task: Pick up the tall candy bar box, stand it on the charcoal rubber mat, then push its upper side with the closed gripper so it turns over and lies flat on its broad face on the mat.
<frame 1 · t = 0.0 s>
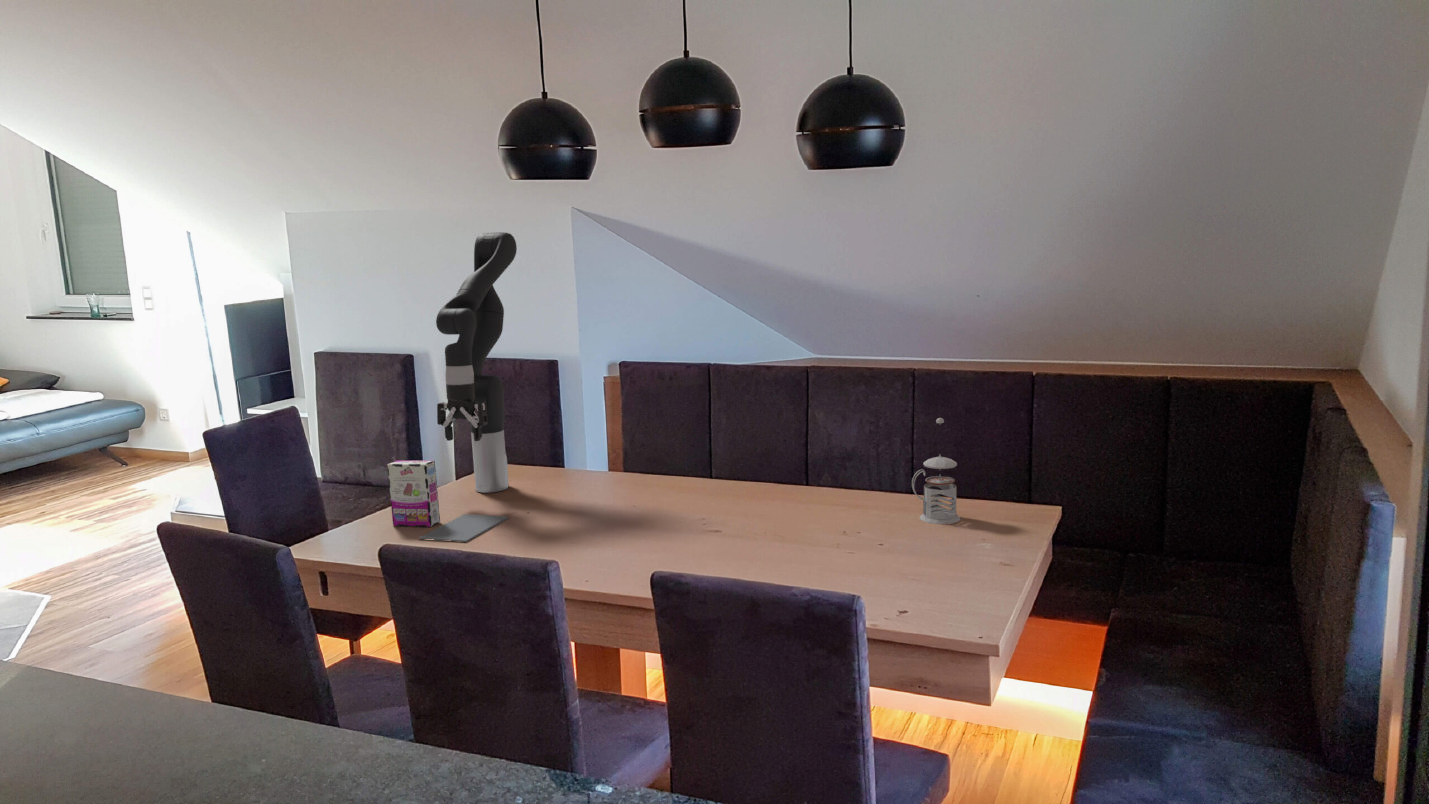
hand: (463, 440, 277), 17 cm above the table, tool pointing down, fingers open, 8 cm apart
mat: (465, 528, 253), on the table
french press: (936, 519, 247), on the table
candy bar box: (416, 525, 259), on the table
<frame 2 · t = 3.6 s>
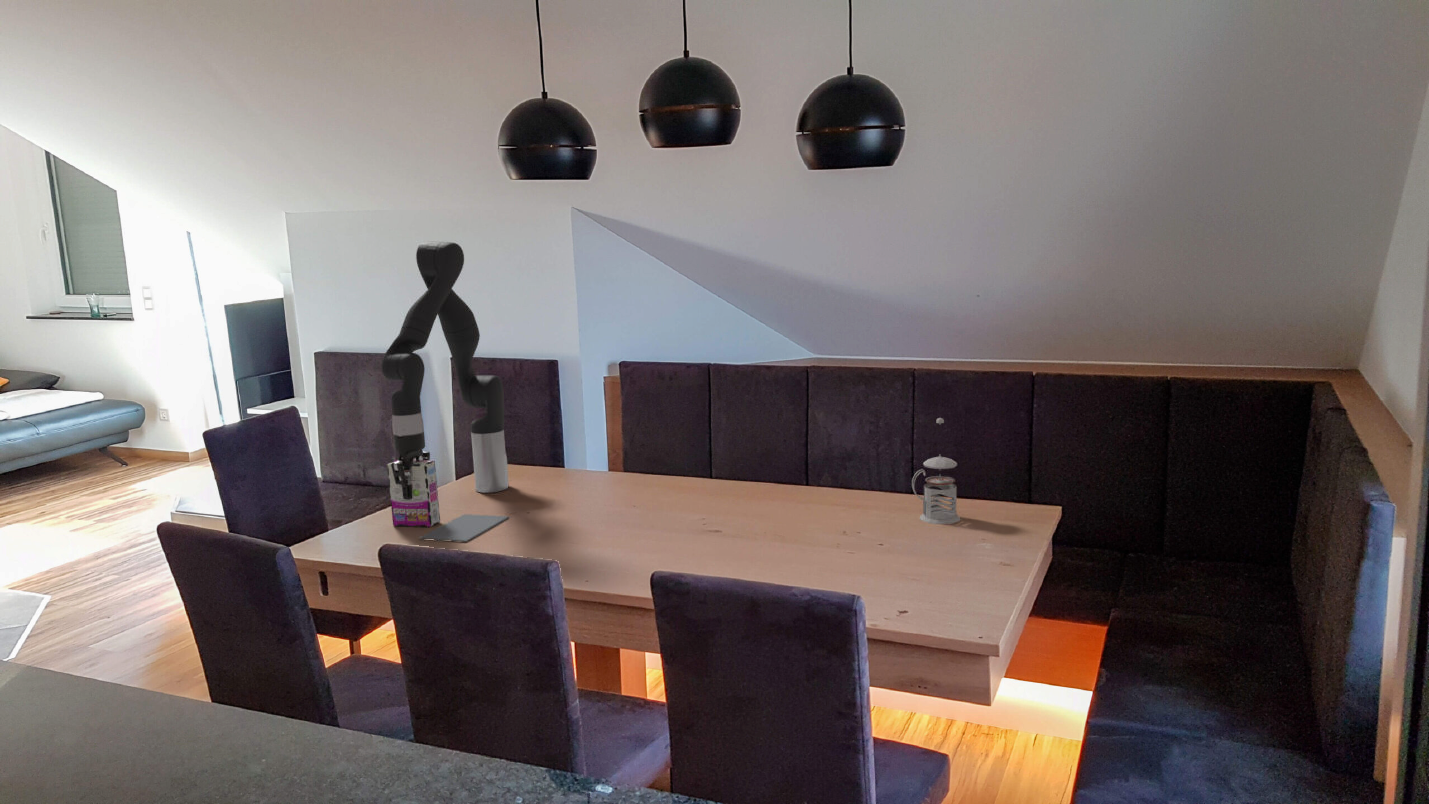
hand: (414, 496, 257), 7 cm above the table, tool pointing down, fingers closed on candy bar box, 5 cm apart
candy bar box: (416, 524, 259), on the table, touching gripper
everything else where it was.
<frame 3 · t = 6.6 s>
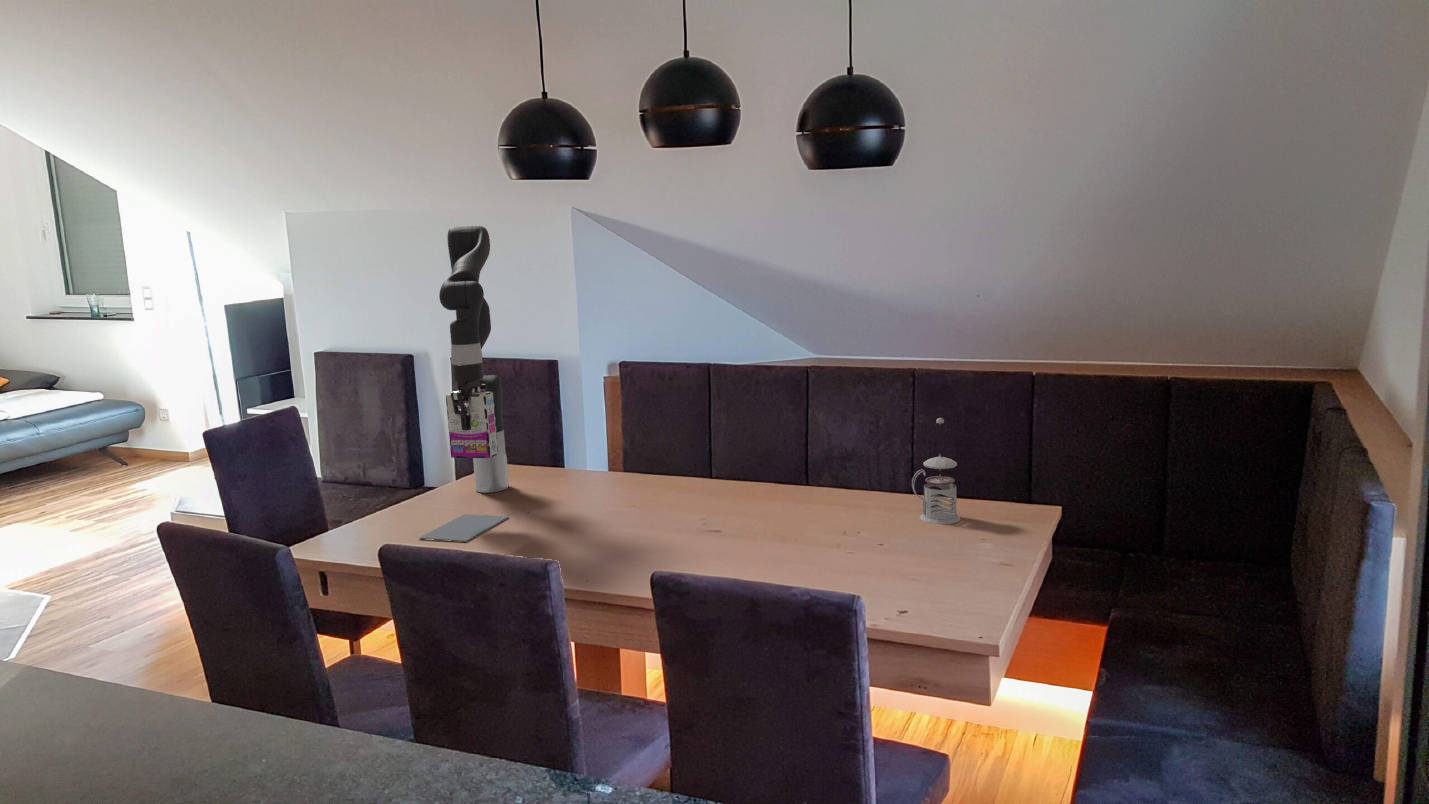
hand: (472, 427, 256), 24 cm above the table, tool pointing down, fingers closed on candy bar box, 5 cm apart
candy bar box: (474, 457, 257), point 17 cm above the table, touching gripper
everything else where it was.
when the fingers open (9 cm above the table, at t = 9.7 s): candy bar box drops 1 cm, resting on mat.
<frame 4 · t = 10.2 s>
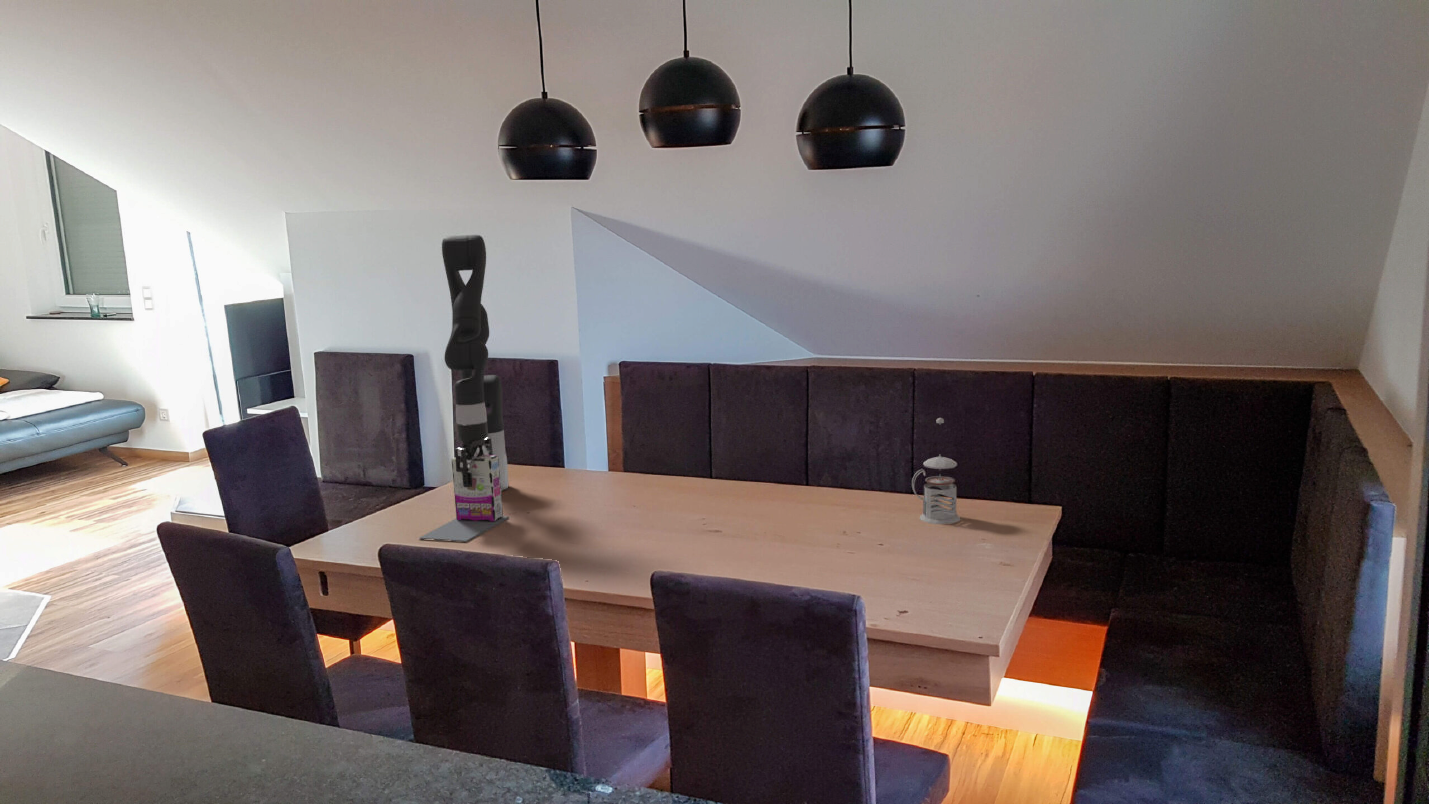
hand: (476, 482, 258), 10 cm above the table, tool pointing down, fingers open, 8 cm apart
candy bar box: (480, 519, 260), resting on mat
everything else where it was.
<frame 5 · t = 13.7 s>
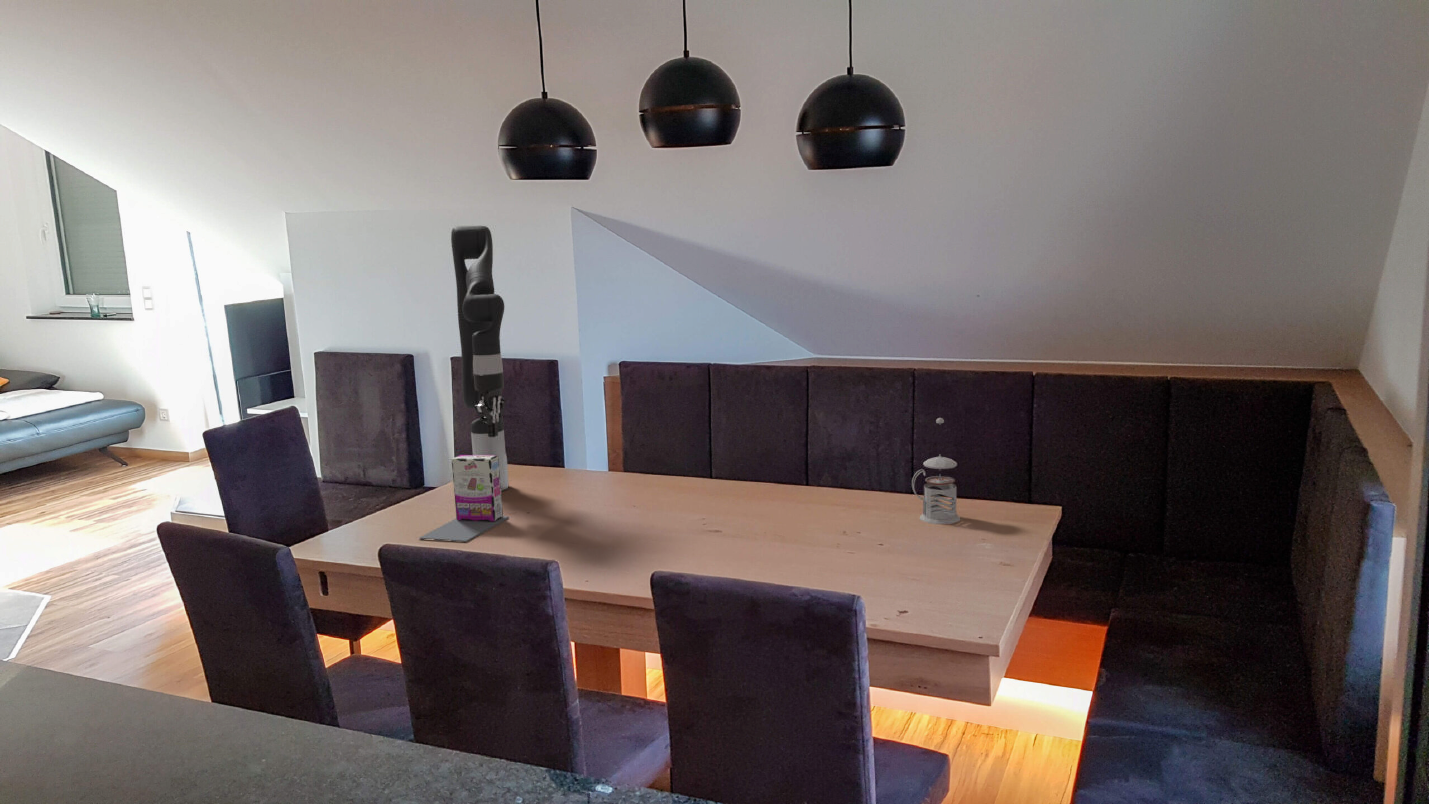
hand: (493, 436, 266), 20 cm above the table, tool pointing down, fingers closed
nothing on the table moved.
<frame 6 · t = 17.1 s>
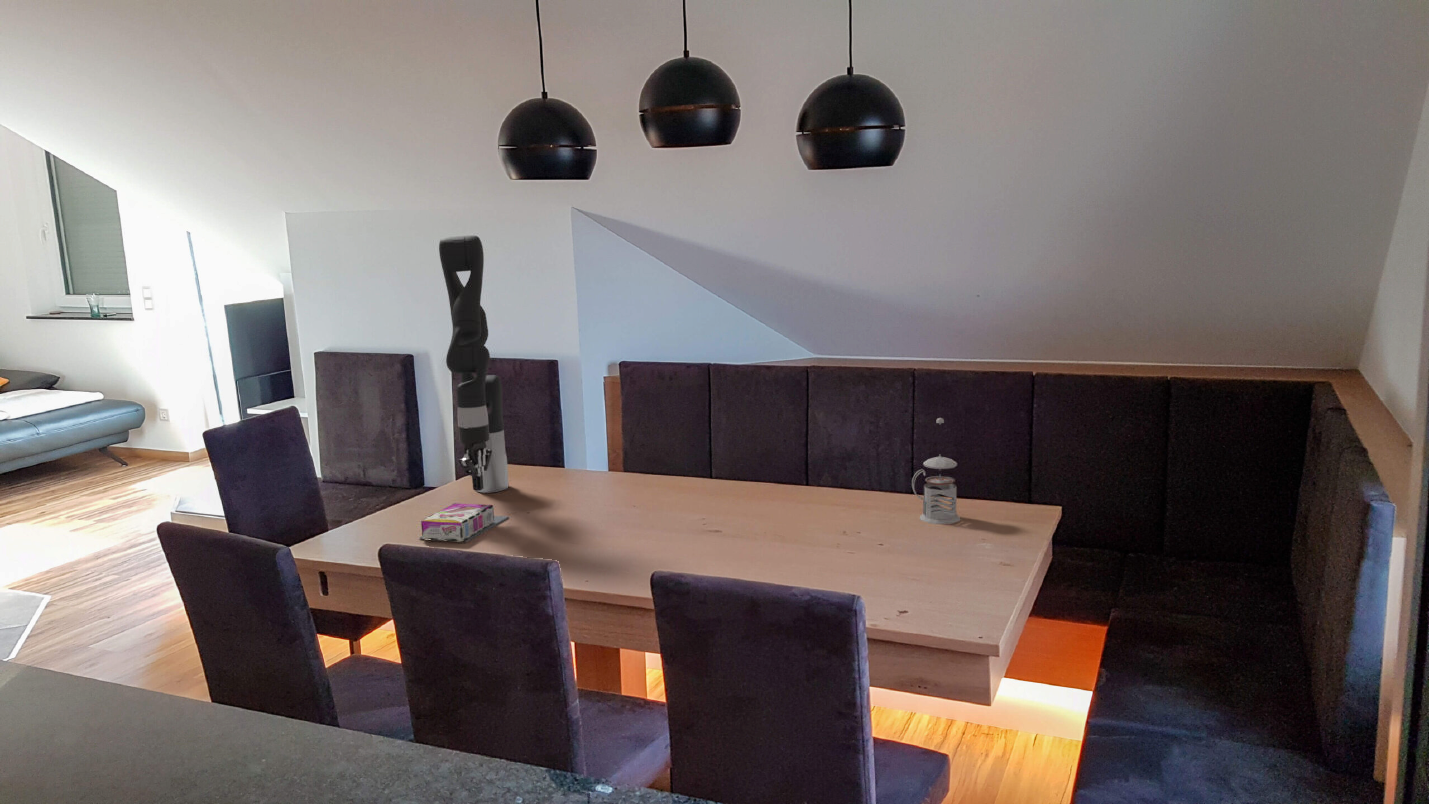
hand: (478, 489, 258), 8 cm above the table, tool pointing down, fingers closed
candy bar box: (474, 511, 257), point 3 cm above the table, touching mat
everything else where it was.
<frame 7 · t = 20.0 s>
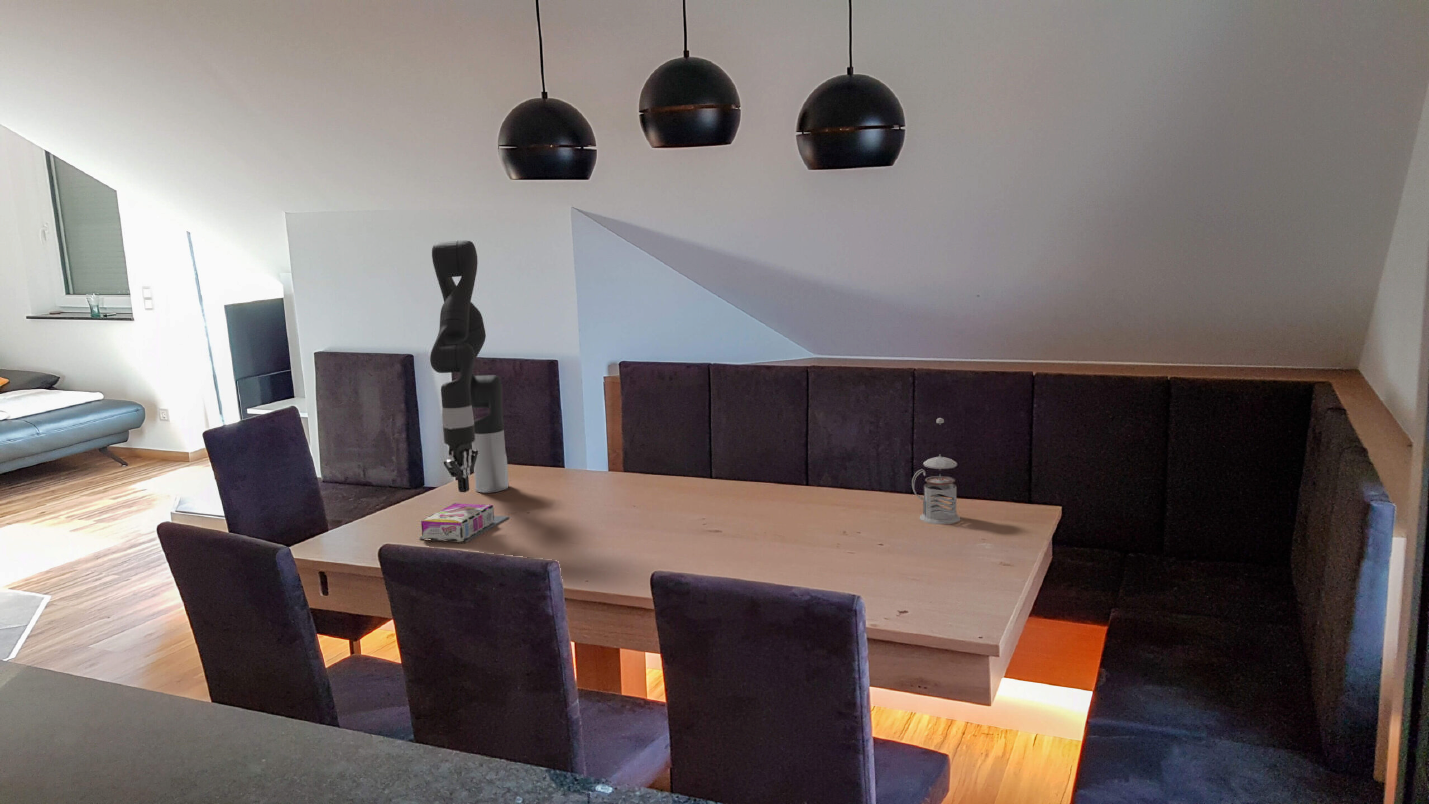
hand: (464, 491, 253), 9 cm above the table, tool pointing down, fingers closed
nothing on the table moved.
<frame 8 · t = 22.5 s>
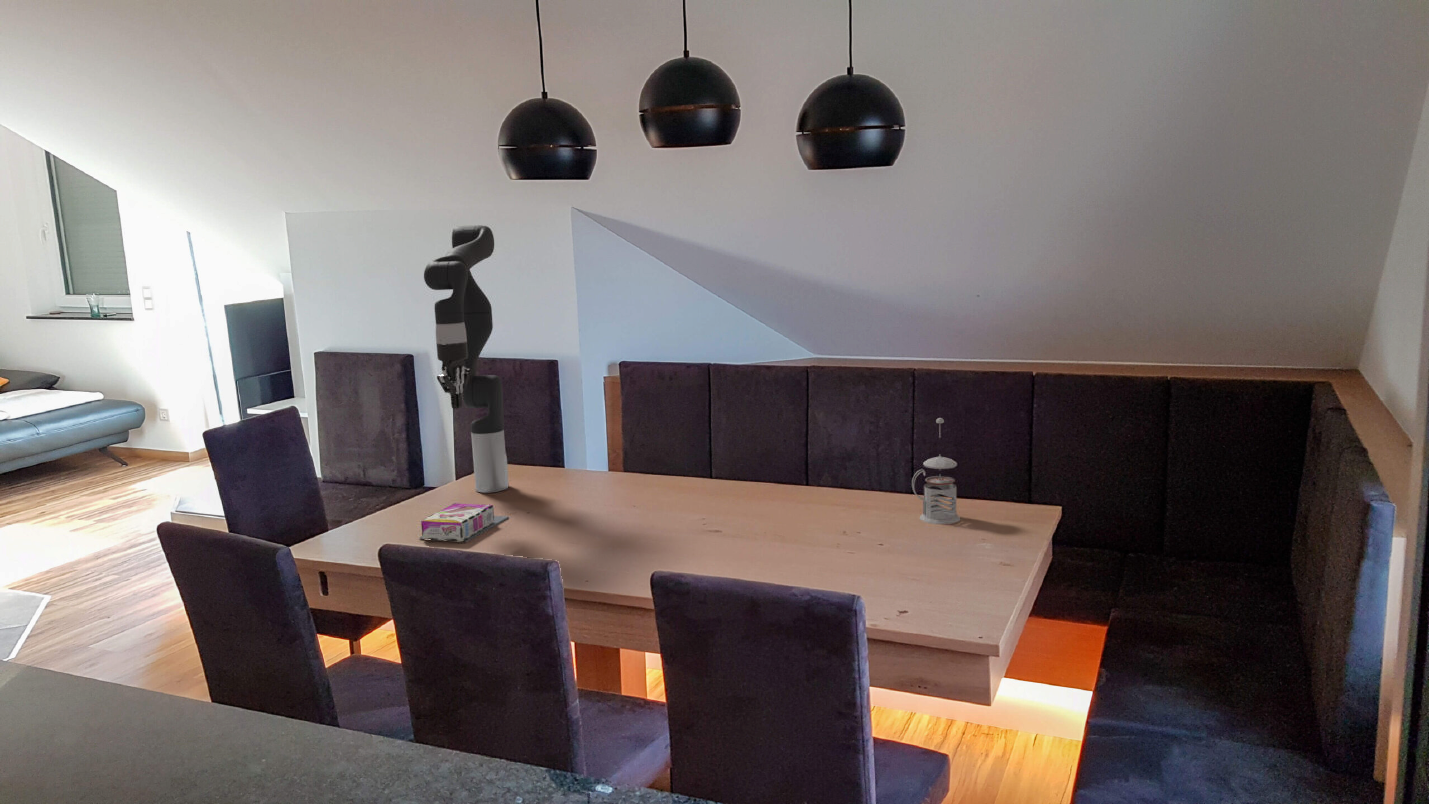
hand: (456, 408, 259), 29 cm above the table, tool pointing down, fingers closed
nothing on the table moved.
at the end: candy bar box tilted 91°; candy bar box inside the target area on the mat (5.9 cm from its centre), point 3.0 cm above the mat's base; the gripper is holding nothing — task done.
